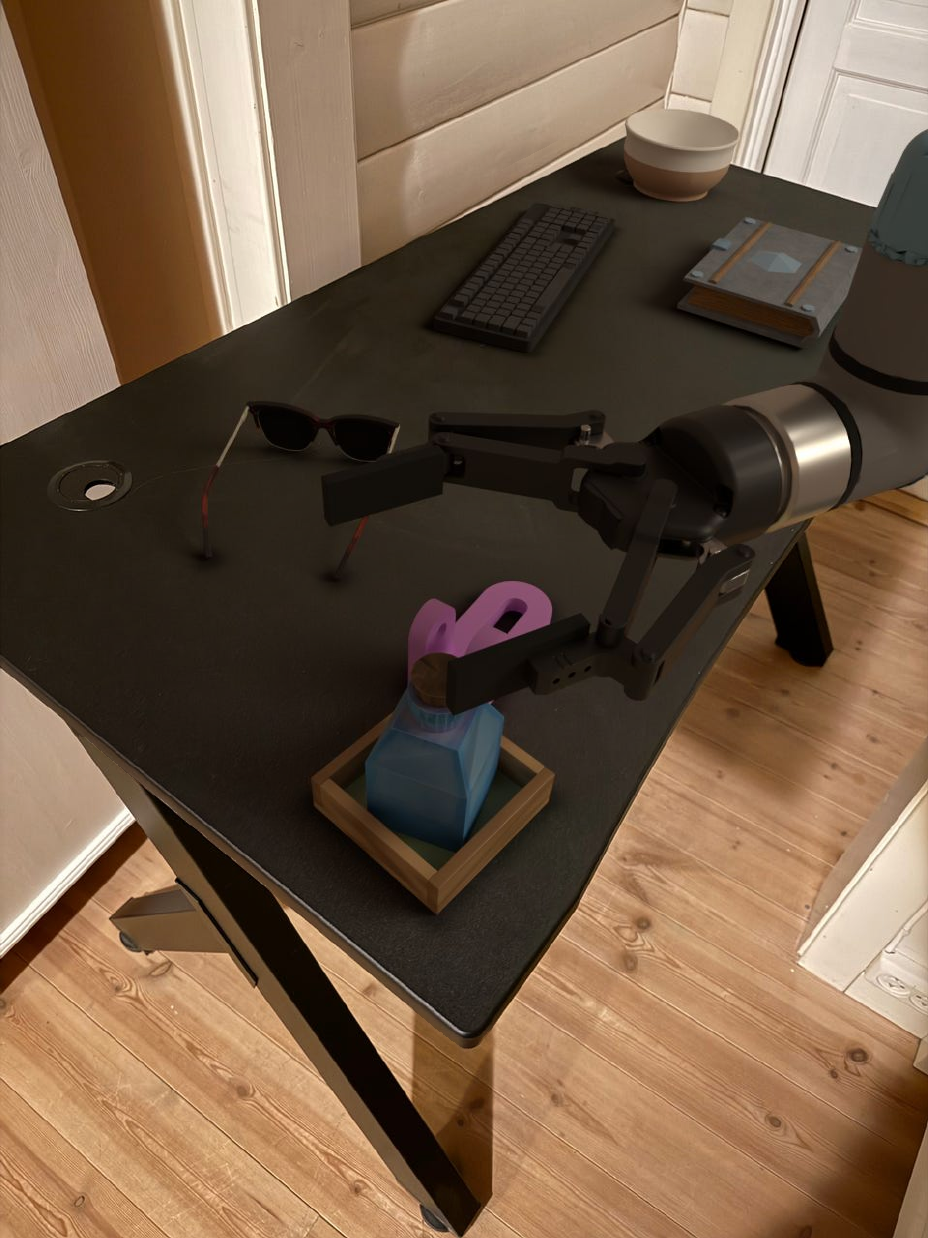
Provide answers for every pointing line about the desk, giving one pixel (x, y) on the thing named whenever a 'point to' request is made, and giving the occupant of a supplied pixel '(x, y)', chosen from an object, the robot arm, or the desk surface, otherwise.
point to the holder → (418, 862)
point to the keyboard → (526, 277)
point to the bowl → (678, 152)
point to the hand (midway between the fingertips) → (380, 586)
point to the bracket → (476, 621)
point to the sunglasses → (300, 428)
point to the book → (772, 281)
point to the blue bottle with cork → (433, 761)
